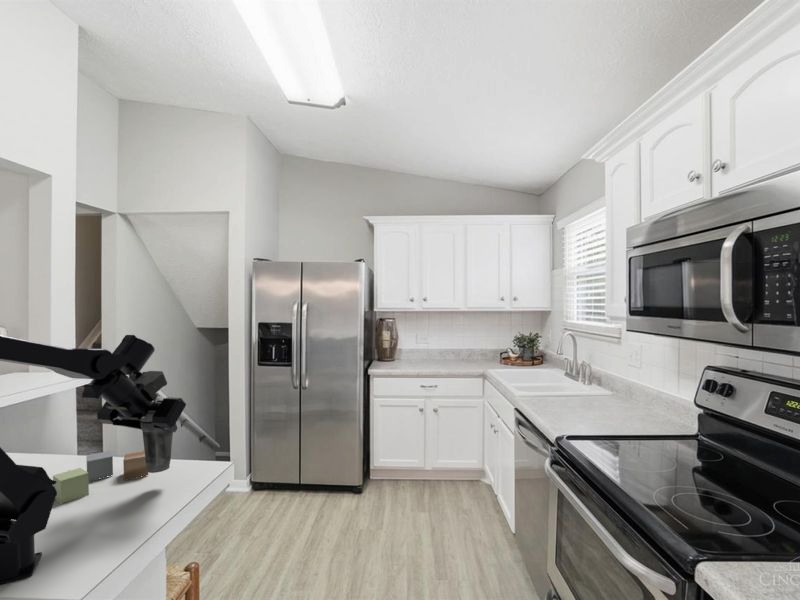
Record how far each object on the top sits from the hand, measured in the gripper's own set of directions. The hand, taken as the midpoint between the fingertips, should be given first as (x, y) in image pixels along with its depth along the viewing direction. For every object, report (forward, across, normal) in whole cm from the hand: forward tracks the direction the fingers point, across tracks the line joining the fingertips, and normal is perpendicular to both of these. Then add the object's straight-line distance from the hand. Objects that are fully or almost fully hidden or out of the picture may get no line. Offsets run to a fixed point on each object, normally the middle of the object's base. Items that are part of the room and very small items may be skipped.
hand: (162, 429), depth 96 cm
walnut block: (+12, +12, +6) cm, 18 cm away
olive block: (+4, +17, +15) cm, 23 cm away
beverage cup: (+5, 0, +7) cm, 9 cm away
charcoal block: (+11, +20, +8) cm, 24 cm away
